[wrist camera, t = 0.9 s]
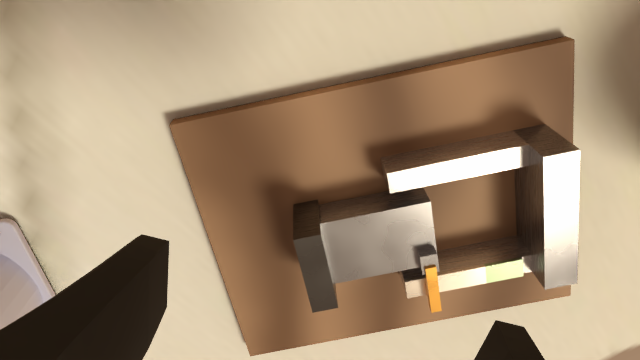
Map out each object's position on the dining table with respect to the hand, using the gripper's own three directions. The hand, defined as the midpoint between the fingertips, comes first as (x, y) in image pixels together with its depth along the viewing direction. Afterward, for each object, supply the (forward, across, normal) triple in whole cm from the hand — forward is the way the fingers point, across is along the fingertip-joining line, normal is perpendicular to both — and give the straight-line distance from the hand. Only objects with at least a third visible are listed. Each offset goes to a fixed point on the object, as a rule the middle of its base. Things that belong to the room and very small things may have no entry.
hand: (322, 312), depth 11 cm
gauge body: (+14, -6, +5) cm, 16 cm away
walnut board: (+14, -3, +6) cm, 15 cm away
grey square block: (+12, -2, +7) cm, 15 cm away
